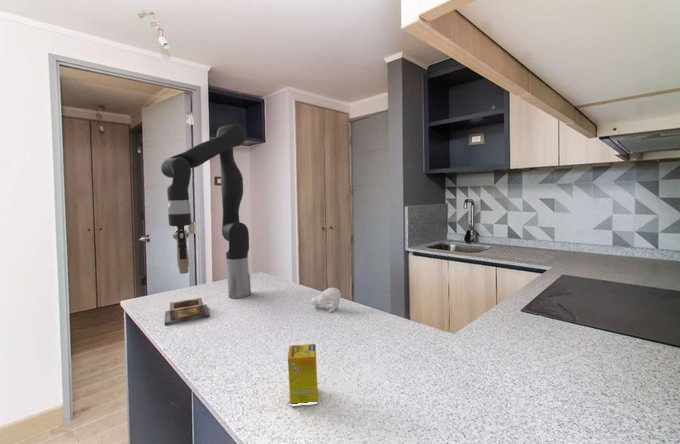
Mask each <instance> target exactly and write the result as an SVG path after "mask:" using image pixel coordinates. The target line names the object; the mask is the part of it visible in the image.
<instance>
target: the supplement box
mask: <svg viewBox="0 0 680 444" xmlns="http://www.w3.org/2000/svg"><path fill="white" fill-rule="evenodd" d="M316 350H317V348H316V343H309V344H308V343H307V344H294V345H293V344H292V345H289V349H288V353H287V364H288V365H287V367H288V381H289V382H288V384H289V386H288V387H289V389H288V390H289V402H290V404H298V403H308V402H317V401H318V402H319V395H318V394H319V393H318V392H319V391H318V390H319V389H318V372H317V370H318V368H317V351H316Z"/></svg>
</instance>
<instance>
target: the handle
mask: <svg viewBox="0 0 680 444" xmlns="http://www.w3.org/2000/svg"><path fill="white" fill-rule="evenodd" d="M189 237H190V232H187V239H188V238H189ZM172 238H173V239H174V240H176V241H177V239H178V236H177V235H175V233H173V234H172ZM187 243H188V241H187V242H186V246H187V247H186V259H182V260H181V259H180V254H179V249H178V246H179V245H178V243H177V242H176V258H177V259H176V260H177V267H178V272H179V274H180V275H181V274H183V275H184V274H188V273H189V271H190V270H189V268H190V262H189V260H190V258H189V257H190V256H189V252H188V251H189V250H188V244H187ZM180 245H184V243H180Z"/></svg>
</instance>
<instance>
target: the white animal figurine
mask: <svg viewBox="0 0 680 444" xmlns="http://www.w3.org/2000/svg"><path fill="white" fill-rule="evenodd" d="M341 297H342V294H341V291H340V290H339V288H336V287H329V288H327V289H324V290H323V291H322V292H321V293H319V295H317V296H313V297H312V298H311V305H312V306H313V307H314V309H319V308H320V307H323V308H326V309H329V310H328V313H332V312H334V311H335V309H338V308H339V306H340V303H341ZM330 305H332V306H331V307H330Z"/></svg>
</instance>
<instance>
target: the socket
mask: <svg viewBox="0 0 680 444" xmlns="http://www.w3.org/2000/svg"><path fill="white" fill-rule="evenodd" d="M209 310H210V309H209V307H208V305H207V304H204V303H203V299H202V297H199V298H198V297H196V298H192V299H186V300H180V301H179V300H178V301H174V302H169V310H166V311H165V313H164V326H170V325H174V324H179V323H185V322H190V321H195V320H201V319H206V318H210V317H211V315H210V311H209Z"/></svg>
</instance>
